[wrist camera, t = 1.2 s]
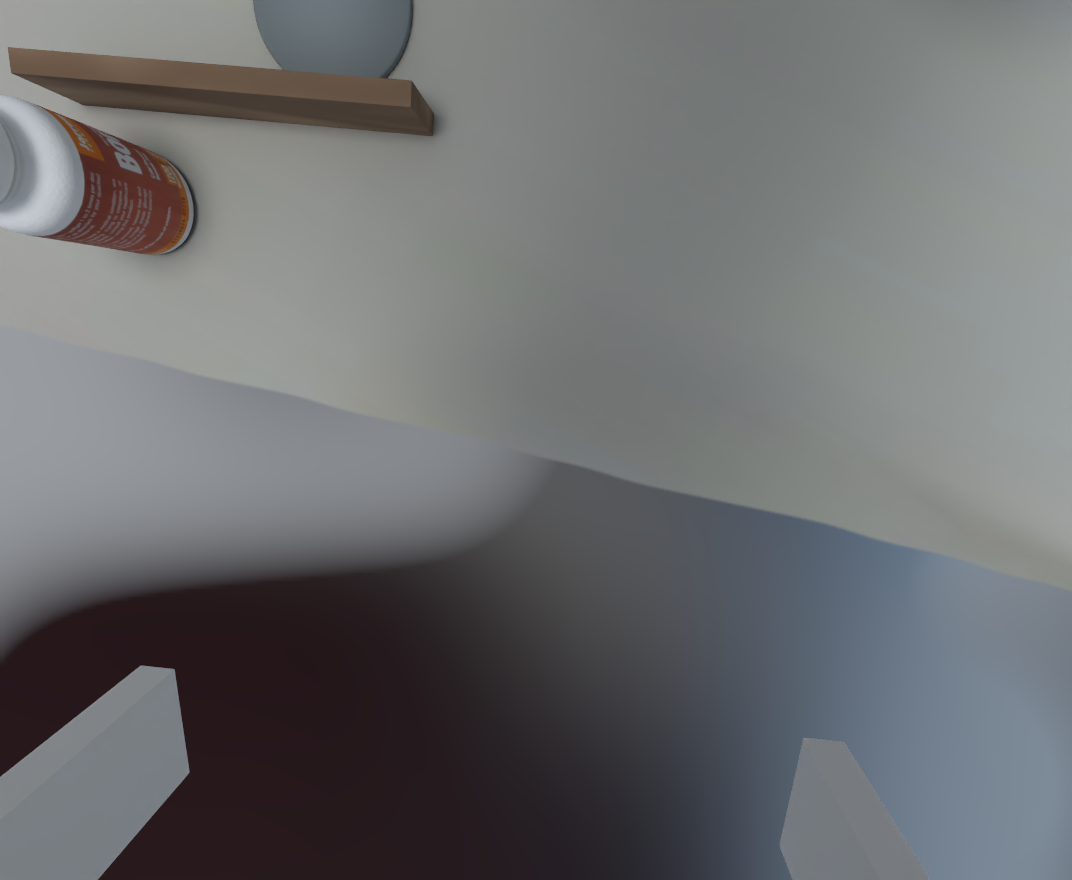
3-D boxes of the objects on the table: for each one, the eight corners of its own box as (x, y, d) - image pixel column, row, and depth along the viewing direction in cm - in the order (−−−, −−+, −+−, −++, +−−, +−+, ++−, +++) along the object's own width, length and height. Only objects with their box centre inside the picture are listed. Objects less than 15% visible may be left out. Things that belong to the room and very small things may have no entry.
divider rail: (80, 82, 30) (7, 47, 26) (433, 112, 29) (411, 80, 25) (83, 104, 30) (11, 73, 27) (432, 135, 29) (410, 107, 25)
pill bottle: (210, 179, 31) (15, 102, 20) (184, 272, 32) (-10, 247, 22) (118, 133, 31) (-128, 31, 20) (97, 230, 32) (-143, 183, 21)
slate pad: (257, -94, 27) (249, -103, 27) (415, -84, 27) (412, -92, 26) (261, 90, 29) (255, 85, 29) (409, 103, 29) (405, 98, 28)
